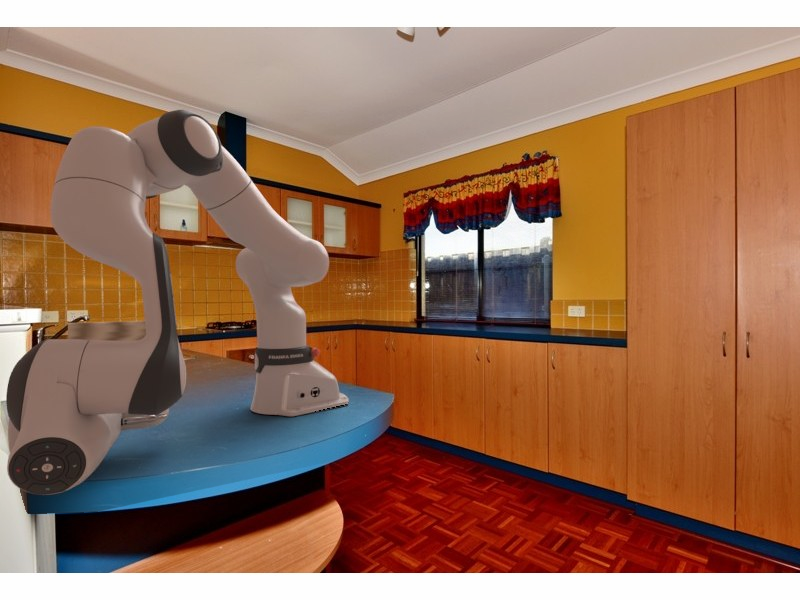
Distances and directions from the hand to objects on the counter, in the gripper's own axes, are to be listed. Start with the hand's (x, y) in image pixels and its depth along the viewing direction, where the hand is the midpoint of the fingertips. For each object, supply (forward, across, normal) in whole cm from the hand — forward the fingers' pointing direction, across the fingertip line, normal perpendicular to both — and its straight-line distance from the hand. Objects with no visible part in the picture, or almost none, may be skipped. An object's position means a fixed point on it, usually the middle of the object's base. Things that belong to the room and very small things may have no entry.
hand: (106, 404), depth 73 cm
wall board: (+32, +3, +7) cm, 32 cm away
